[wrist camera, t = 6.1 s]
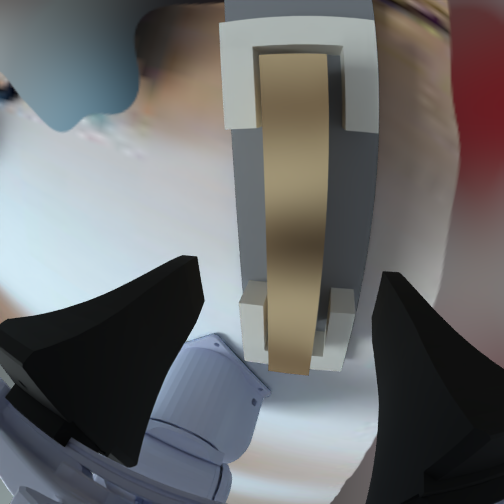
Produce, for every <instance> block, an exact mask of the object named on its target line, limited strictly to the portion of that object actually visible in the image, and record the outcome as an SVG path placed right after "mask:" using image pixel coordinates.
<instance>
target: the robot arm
mask: <svg viewBox="0 0 504 504" xmlns="http://www.w3.org/2000/svg"><path fill="white" fill-rule="evenodd" d="M204 301H205V300H204V294H203V289H202V283H201V277H200V271H199V265H198V258H197V256H186V255H182V256H179V257H177V258H175V259H173V260H170V261H168V262H167V263H165V264H163V265H161V266H159V267H157V268H155V269H153V270H151V271H150V272H148V273H146V274H144V275H142V276H140V277H138V278H137V279H135V280H133V281H131V282H129V283H127V284H125V285H123V286H121V287H119V288H117V289H115V290H112V291H110V292H108V293H106V294H103V295H101V296H99V297H96V298H94V299H91V300H89V301H86V302H83V303H80V304H77V305H74V306H71V307H67V308H64V309H61V310H57V311H53V312H49V313H44V314H40V315H34V316H28V317H20V318H13V319H7V320H5V321H4V322H2V323H1V324H0V365H1V366H2V367H3V369H4V370H5V371H6V373H7V374H8V375H9V376H10V377H11V379H12V380H13V382H14V383H15V385H14V386H13V387H12V389H10V387H9V386H8V385H7V384H6V383H5V382H4V381H3V379H1V377H0V478H1V479H2V481H3V483H4V484H5V485H6V487H7V488H8V490H9V491H10V493H11V494H12V495H13V499H12V500H11V502H10V504H226V503H225V502H226V500H227V498H228V495H229V492H230V489H231V484H232V474H231V472H230V469H229V466H228V465H227V464H228V463H231V462H233V461H235V460H237V459H238V458H239V457H240V456H241V455H242V454H243V453H244V452H245V451H246V450H247V448H248V446H249V445H250V442H251V439H252V436H253V432H254V429H255V426H256V422H257V419H258V415H259V412H260V408H261V404H262V401H263V398H264V397H269V396H270V395H271V391H270V390H269V389H268V388H267V387H266V386H265V385H264V384H263V383H262V382H261V381H260V380H259V379H258V378H257V377H256V376H255V375H254V374H253V373H252V372H251V371H250V370H249V369H248V368H247V367H246V366H245V365H244V364H243V362H242V361H241V360H240V359H239V358H238V357H237V356H236V355H235V354H234V353H233V352H232V351H231V350H230V349H229V347H228V346H227V345H226V344H225V343H224V342H223V341H222V340H221V339H220V337H219V336H217V335H215V334H211V335H208V336H205V337H202V338H199V339H196V340H192V341H189V342H186V343H185V341H186V340H187V338H188V336H189V334H190V333H191V331H192V329H193V327H194V326H195V324H196V322H197V319H198V317H199V314H200V312H201V309H202V307H203V304H204ZM372 343H373V351H374V359H375V367H376V375H377V385H378V395H379V417H378V433H377V444H376V452H375V459H374V466H373V472H372V478H371V482H370V487H369V492H368V496H367V500H366V504H504V369H503V368H502V367H500V366H499V365H497V364H496V363H494V362H493V361H492V360H490V359H489V358H488V357H486V356H485V355H484V354H482V353H481V352H480V351H478V350H477V349H476V348H475V347H473V346H472V345H471V344H470V343H468V341H466V340H465V339H464V338H463V337H462V336H461V335H459V334H458V333H457V332H456V331H455V330H454V329H453V328H452V327H451V326H450V325H449V324H448V323H447V322H446V321H445V320H444V319H443V318H442V317H441V316H440V315H439V314H438V313H437V312H436V311H435V310H434V309H433V308H432V307H431V306H430V305H429V303H428V302H427V301H426V300H425V299H424V298H423V297H422V296H421V295H420V294H419V293H418V291H417V290H416V289H415V288H414V287H413V286H412V285H411V284H410V283H409V282H408V281H407V279H406V278H405V277H404V276H403V275H402V274H401V273H399V272H386V271H383V273H382V278H381V282H380V287H379V291H378V295H377V299H376V303H375V307H374V311H373V315H372ZM99 453H100V454H99ZM90 471H91V472H90ZM92 472H93V475H92Z"/></svg>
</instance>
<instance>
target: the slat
mask: <svg viewBox="0 0 504 504" xmlns="http://www.w3.org/2000/svg"><path fill="white" fill-rule="evenodd" d="M259 66H260V86H261V107H262V131H263V156H264V184H265V216H266V253H267V300H268V371H274V372H281V373H290V374H299V375H308V376H309V370H310V363H311V357H312V350H313V343H314V336H315V329H316V321H317V313H318V305H319V296H320V286H321V276H322V266H323V254H324V242H325V228H326V211H327V191H328V160H329V98H328V69H327V54H310V53H294V54H266V55H259Z"/></svg>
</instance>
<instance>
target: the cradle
mask: <svg viewBox="0 0 504 504" xmlns="http://www.w3.org/2000/svg"><path fill="white" fill-rule="evenodd" d="M224 1H225V22H223V23H219V32H220V53H221V72H222V90H223V107H224V123H225V130H226V129H231V134H232V150H233V165H234V180H235V195H236V209H237V223H238V236H239V250H240V263H241V276H242V288H243V295H242V297H241V299H240V301H239V310H240V321H241V331H242V341H243V351H244V361H249V362H255V363H262V364H268V300H267V253H266V216H265V184H264V156H263V131H262V107H261V86H260V66H259V55H266V54H294V53H310V54H327V69H328V98H329V160H328V191H327V211H326V228H325V242H324V254H323V266H322V276H321V286H320V296H319V305H318V313H317V321H316V329H315V336H314V343H313V350H312V357H311V363H310V369H313V370H325V371H338V372H341V369H342V366H343V363H344V359H345V355H346V352H347V348H348V344H349V340H350V336H351V332H352V328H353V324H354V319H355V315H356V310H357V306H358V301H359V296H360V291H361V286H362V281H363V275H364V270H365V264H366V258H367V252H368V245H369V239H370V231H371V224H372V216H373V207H374V198H375V187H376V175H377V161H378V142H379V72H378V54H377V41H376V30H375V21H374V12H373V5H372V0H224Z"/></svg>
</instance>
